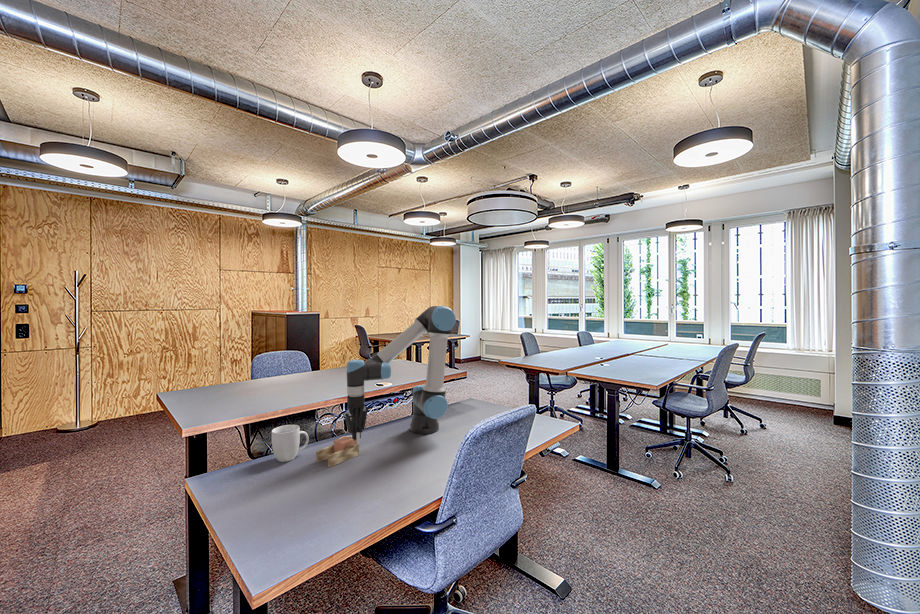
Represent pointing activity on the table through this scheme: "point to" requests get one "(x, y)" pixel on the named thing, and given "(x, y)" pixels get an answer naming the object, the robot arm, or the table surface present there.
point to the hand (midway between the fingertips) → (356, 446)
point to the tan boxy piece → (337, 454)
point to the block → (342, 443)
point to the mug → (287, 442)
